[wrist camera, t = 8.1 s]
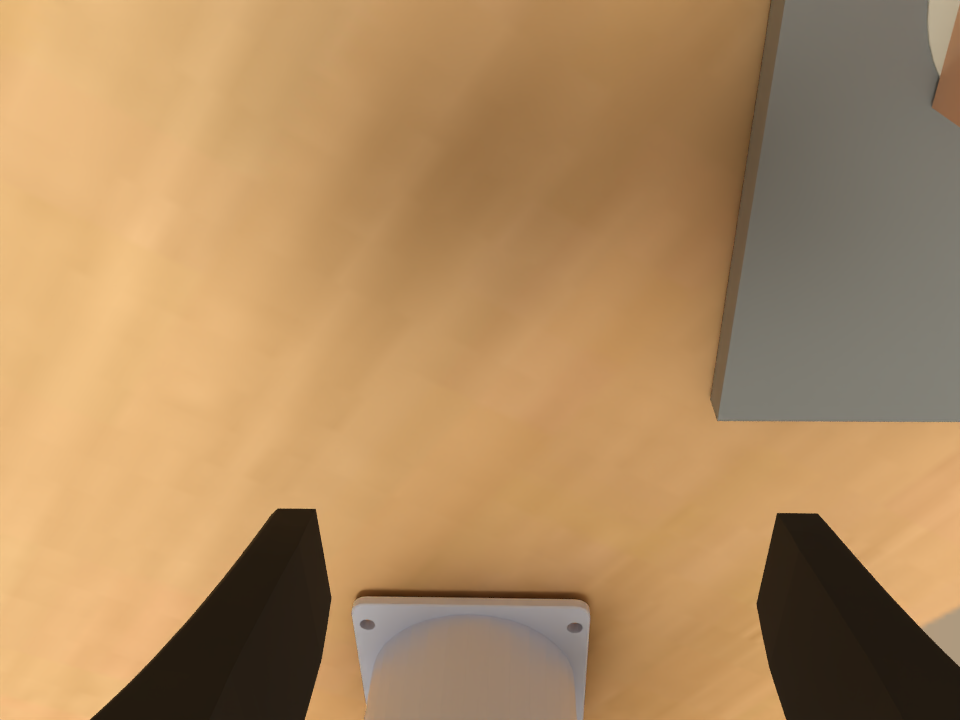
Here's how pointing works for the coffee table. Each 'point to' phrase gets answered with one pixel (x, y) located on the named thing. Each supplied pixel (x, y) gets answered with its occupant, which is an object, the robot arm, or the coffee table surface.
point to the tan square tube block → (950, 79)
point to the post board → (847, 223)
